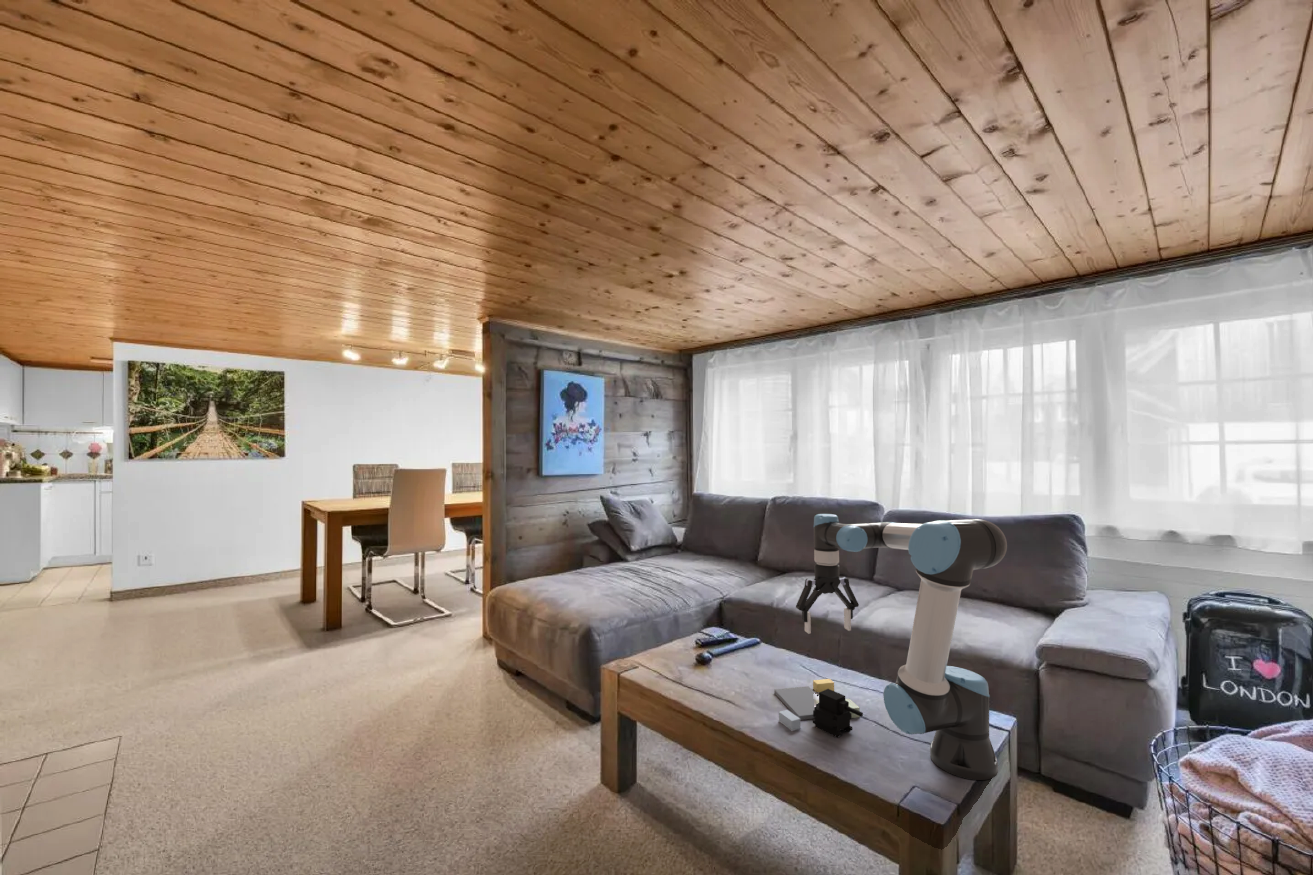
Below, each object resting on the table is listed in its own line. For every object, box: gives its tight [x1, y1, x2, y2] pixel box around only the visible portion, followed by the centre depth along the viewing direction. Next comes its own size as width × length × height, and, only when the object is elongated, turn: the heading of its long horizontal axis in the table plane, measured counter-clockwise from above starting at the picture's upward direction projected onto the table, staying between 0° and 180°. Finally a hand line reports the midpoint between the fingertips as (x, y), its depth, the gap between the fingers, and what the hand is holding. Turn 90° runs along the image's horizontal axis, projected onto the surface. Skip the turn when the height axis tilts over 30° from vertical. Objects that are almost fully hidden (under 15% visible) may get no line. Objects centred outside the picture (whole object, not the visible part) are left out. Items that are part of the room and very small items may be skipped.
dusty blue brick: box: [778, 709, 801, 732], centre depth 161 cm, size 6×3×3 cm, turn 24°
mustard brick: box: [812, 678, 835, 693], centre depth 183 cm, size 6×3×3 cm, turn 102°
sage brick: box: [845, 698, 861, 719], centre depth 168 cm, size 6×3×3 cm, turn 11°
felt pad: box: [773, 685, 816, 721], centre depth 173 cm, size 18×12×1 cm, turn 11°
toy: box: [812, 689, 864, 738], centre depth 156 cm, size 8×14×10 cm, turn 36°
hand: (827, 630), depth 174 cm, fingers open, 13 cm apart
